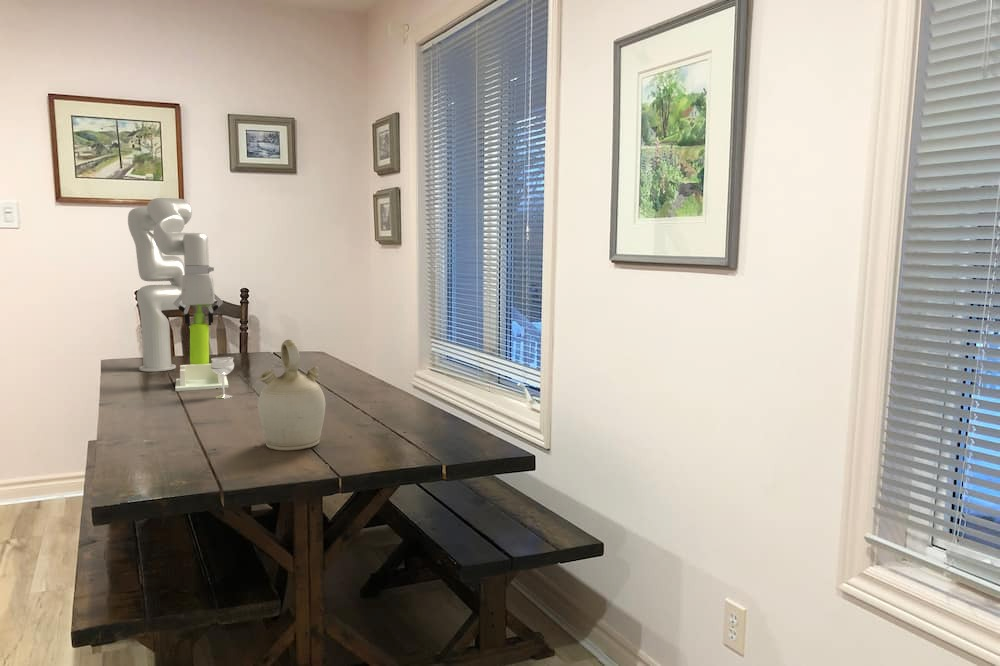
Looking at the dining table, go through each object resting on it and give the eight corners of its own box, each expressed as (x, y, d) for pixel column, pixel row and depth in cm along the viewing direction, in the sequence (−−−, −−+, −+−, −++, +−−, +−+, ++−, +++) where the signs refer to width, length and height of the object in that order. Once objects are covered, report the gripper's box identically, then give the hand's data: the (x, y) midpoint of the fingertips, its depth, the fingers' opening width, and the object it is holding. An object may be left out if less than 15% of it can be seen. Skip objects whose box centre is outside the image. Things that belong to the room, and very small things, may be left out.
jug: (258, 455, 167) (254, 344, 164) (260, 438, 182) (256, 336, 179) (328, 450, 171) (325, 342, 168) (324, 434, 186) (322, 334, 183)
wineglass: (220, 400, 225) (218, 360, 224) (207, 397, 230) (206, 358, 228) (240, 396, 231) (238, 358, 229) (227, 393, 235) (225, 356, 233)
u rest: (176, 381, 255) (175, 364, 254) (226, 378, 261) (225, 361, 260) (175, 391, 239) (174, 372, 238) (228, 387, 245) (227, 369, 244)
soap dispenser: (207, 365, 246) (207, 304, 244) (187, 364, 247) (186, 304, 244) (214, 362, 252) (214, 303, 250) (194, 361, 252) (194, 302, 250)
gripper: (224, 270, 252) (226, 323, 254) (168, 270, 246) (171, 325, 248) (225, 271, 245) (227, 325, 247) (168, 271, 239) (170, 327, 241)
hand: (199, 324), depth 248 cm, fingers closed on soap dispenser, 5 cm apart
